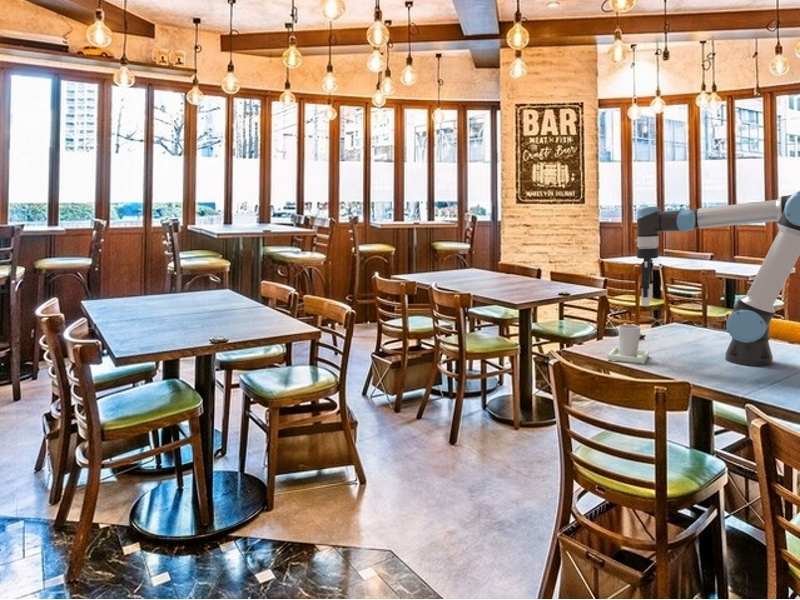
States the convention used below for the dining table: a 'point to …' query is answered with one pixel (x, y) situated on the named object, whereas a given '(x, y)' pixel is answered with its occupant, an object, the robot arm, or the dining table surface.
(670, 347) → the dining table surface
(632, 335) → the cup
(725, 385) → the dining table surface
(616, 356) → the tray
